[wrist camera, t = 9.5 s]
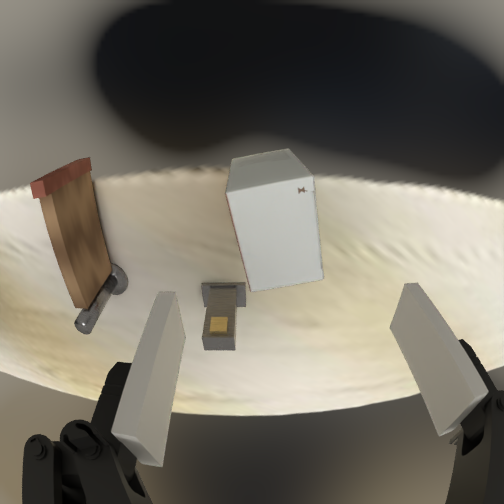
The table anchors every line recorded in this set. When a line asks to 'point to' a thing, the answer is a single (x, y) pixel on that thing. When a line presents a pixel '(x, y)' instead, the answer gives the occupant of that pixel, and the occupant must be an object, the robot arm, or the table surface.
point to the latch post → (221, 314)
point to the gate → (74, 229)
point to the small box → (275, 219)
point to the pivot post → (102, 299)
